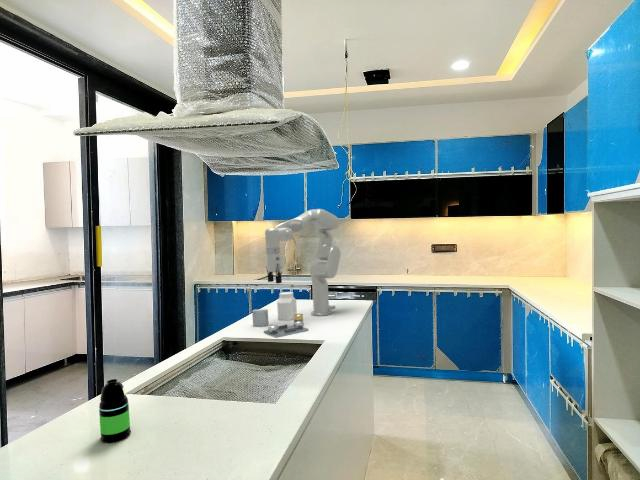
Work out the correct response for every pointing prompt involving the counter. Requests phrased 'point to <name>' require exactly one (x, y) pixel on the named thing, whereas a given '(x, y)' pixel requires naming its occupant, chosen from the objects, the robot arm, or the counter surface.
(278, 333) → the shaft bench
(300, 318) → the cylinder
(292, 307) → the jar
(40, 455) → the counter surface
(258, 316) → the medicine box
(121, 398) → the bottle
